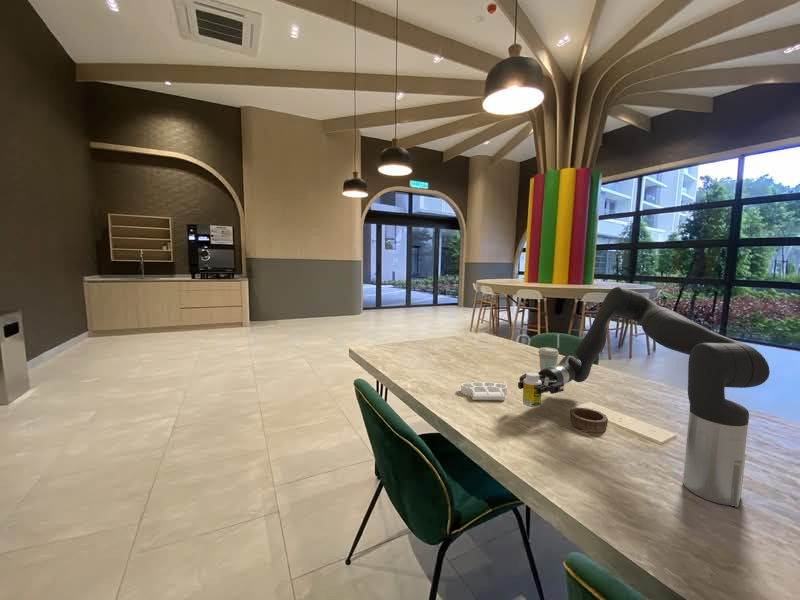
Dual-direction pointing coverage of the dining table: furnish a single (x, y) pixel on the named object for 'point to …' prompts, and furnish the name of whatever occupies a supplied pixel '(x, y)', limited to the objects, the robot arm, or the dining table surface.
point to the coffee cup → (548, 357)
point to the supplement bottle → (531, 390)
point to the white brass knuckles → (484, 390)
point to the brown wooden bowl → (588, 420)
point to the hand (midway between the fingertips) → (528, 388)
